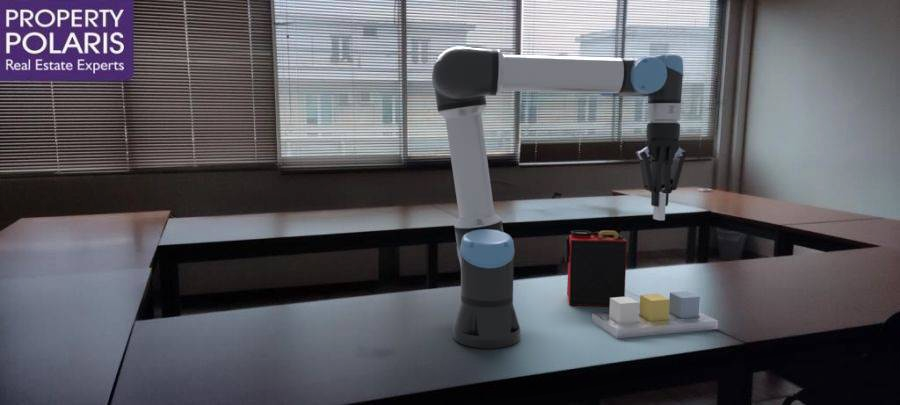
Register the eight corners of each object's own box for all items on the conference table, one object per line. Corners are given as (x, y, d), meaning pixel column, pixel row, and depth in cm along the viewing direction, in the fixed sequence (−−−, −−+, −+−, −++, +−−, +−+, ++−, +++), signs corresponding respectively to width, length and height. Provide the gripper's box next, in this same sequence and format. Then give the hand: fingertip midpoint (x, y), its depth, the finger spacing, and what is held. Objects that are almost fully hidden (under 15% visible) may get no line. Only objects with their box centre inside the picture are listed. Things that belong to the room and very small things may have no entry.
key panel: (617, 338, 134) (617, 329, 133) (591, 321, 145) (592, 313, 145) (717, 329, 140) (718, 320, 139) (685, 313, 151) (686, 305, 151)
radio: (619, 296, 166) (622, 225, 163) (626, 307, 156) (629, 232, 153) (561, 295, 167) (563, 224, 165) (565, 306, 157) (567, 231, 155)
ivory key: (619, 324, 137) (620, 303, 137) (609, 318, 142) (610, 297, 141) (638, 323, 139) (639, 302, 138) (627, 316, 143) (628, 296, 143)
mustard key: (650, 321, 139) (651, 300, 139) (639, 315, 144) (640, 295, 143) (668, 319, 140) (669, 299, 140) (657, 313, 145) (658, 293, 144)
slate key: (680, 318, 141) (681, 298, 141) (668, 312, 146) (669, 292, 145) (698, 317, 142) (699, 296, 142) (686, 310, 147) (687, 291, 146)
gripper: (647, 121, 138) (643, 223, 141) (697, 121, 141) (691, 220, 144) (630, 121, 145) (626, 218, 148) (678, 121, 148) (673, 216, 151)
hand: (658, 219), depth 146 cm, fingers closed
